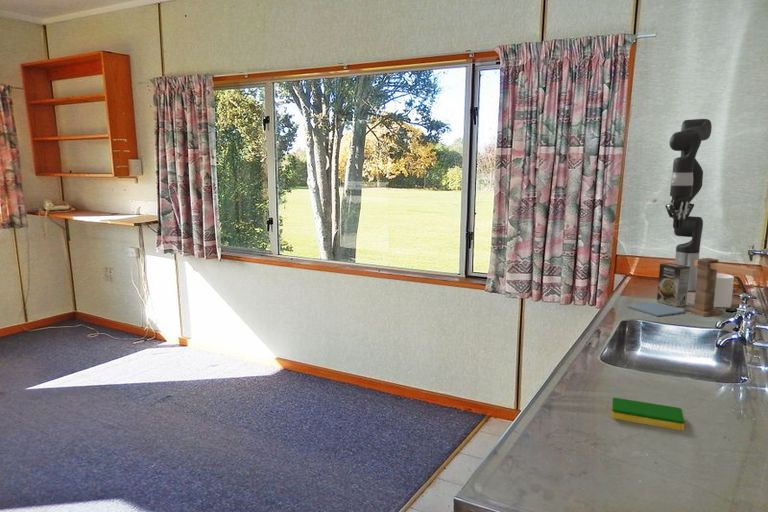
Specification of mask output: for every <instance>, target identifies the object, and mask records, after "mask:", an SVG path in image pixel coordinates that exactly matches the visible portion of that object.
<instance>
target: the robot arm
mask: <svg viewBox="0 0 768 512" xmlns="http://www.w3.org/2000/svg"><path fill="white" fill-rule="evenodd" d="M712 127H713V126H712V122H711V120H710V119H709V118H695V119H685V120H683V122H682V123H681V129H680V131H677V132H674V133H673V134H672V135H671V137H670V139H669V142H668V143H669V147H670V149H671V150H672V151H675V152H680V156H679V157H675V158H674V159H673V163H672V173H671V180H670V189H669V190H670V192H669V196H670V197H671V199H670V202H669V203H668V204H665V209H666V211H667V214H668V216H669V218H672V219H673V222H672V223H673V224H672V228H673V233H674V235H675V237H676V236H677V237H685V238H691V240H689V241H687V242H685V243H679V244H677V245H676V246H675V256H674V257H675V258H674V264H678V265H683V266H689V267H690V273H689V282H688V291H687V292H694V291H695V292H696V282H697V271H698V268H697V266H694V262H695V260H698V259H700V249H701V242H702V234H703V227H704V220H703V218H702V217H701V216H690V214H691V212H692V211H693V209H694V206H695V204H694V203H691V202H692V200H693V199H695V197H696V196H697V195H698V193H699V192H700V191H701V189H702V187H703V178H704V170H703V167H702V166H701V164H700V163H699V162H698V159H696V156H697V153H698V152H699V148H700V146H701V144H702V141H703V142H704V141H707V140H709V139H710V136H711V133H712Z"/></svg>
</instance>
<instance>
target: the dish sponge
mask: <svg viewBox="0 0 768 512" xmlns="http://www.w3.org/2000/svg"><path fill="white" fill-rule="evenodd" d="M611 406H612V408H611V418H612V419H615V420H621V421H626V422H632V423H638V424H642V425H643V424H645V425H650V426H654V427H661V428H665V429H673V430H679V431H684V429H685V418H684V414H683V409H682V408H680V407H677V406H671V405H663V404H658V403H657V404H656V403H651V402H646V401H645V402H644V401H637V400H631V399H625V398H619V397H612V405H611Z"/></svg>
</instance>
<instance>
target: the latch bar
mask: <svg viewBox="0 0 768 512" xmlns="http://www.w3.org/2000/svg"><path fill="white" fill-rule="evenodd" d="M697 265H698V260H695V262H694V266H697ZM709 268H710V269H715V270H717V271H722V272H726V273H733V274H737V275H738V274H739V275H744V276H750V277H758V276H759V275H760V274H759V272H760V270H759V269H755V268H750V267H745V266H738V265H731V264H726V263H721V262H720V263H719V262H718V263H715V262H710V265H709Z"/></svg>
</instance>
